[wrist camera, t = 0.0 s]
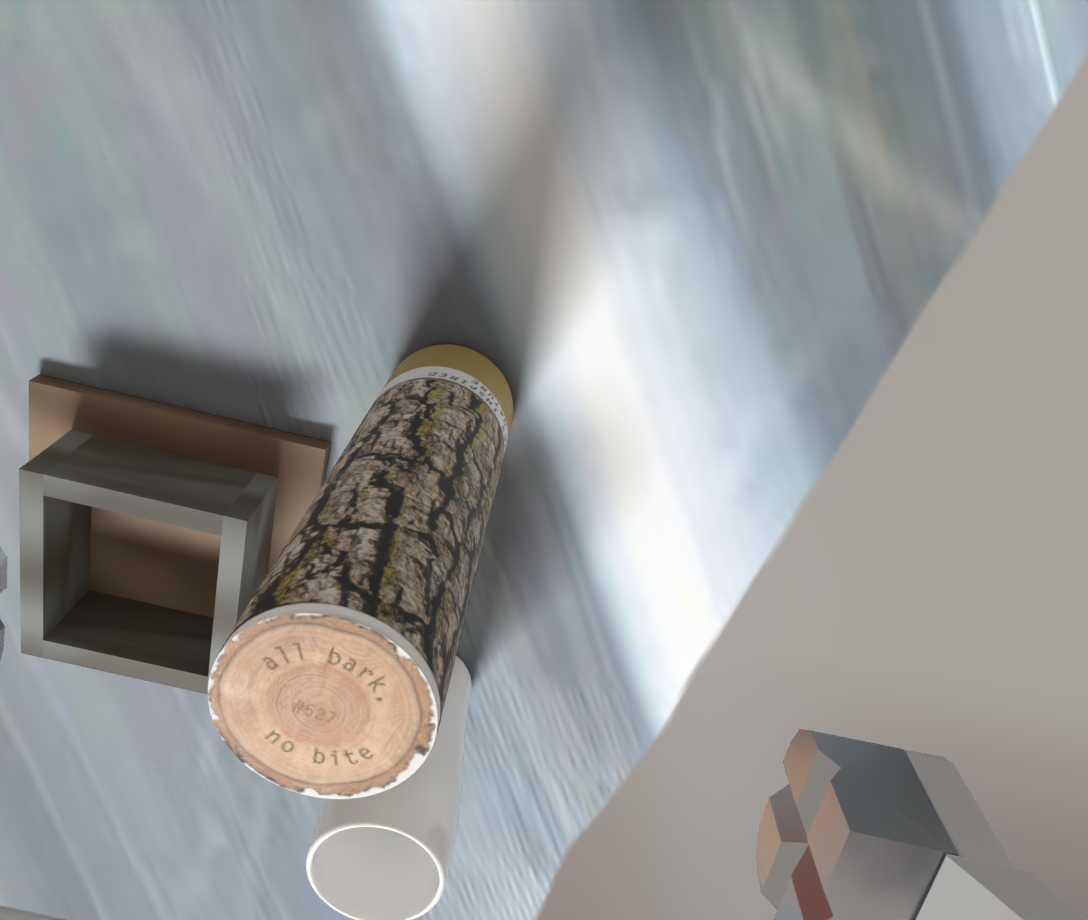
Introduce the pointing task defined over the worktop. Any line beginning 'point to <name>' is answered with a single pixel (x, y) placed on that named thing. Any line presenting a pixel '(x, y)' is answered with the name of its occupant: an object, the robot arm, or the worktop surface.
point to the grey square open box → (149, 528)
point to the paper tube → (371, 590)
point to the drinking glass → (396, 830)
